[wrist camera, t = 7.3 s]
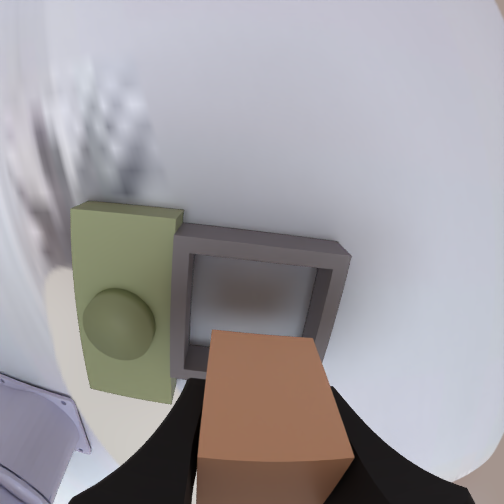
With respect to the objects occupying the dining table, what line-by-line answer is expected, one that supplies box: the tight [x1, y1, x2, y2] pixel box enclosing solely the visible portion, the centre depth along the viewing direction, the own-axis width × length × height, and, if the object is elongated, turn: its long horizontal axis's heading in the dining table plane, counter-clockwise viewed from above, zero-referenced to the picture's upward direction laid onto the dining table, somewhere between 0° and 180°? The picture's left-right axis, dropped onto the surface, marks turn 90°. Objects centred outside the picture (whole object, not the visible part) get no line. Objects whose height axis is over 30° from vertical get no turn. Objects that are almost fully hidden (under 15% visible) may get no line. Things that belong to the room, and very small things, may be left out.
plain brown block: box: [196, 330, 355, 504], centre depth 10 cm, size 4×4×6 cm
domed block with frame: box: [71, 201, 351, 404], centre depth 17 cm, size 14×12×3 cm
